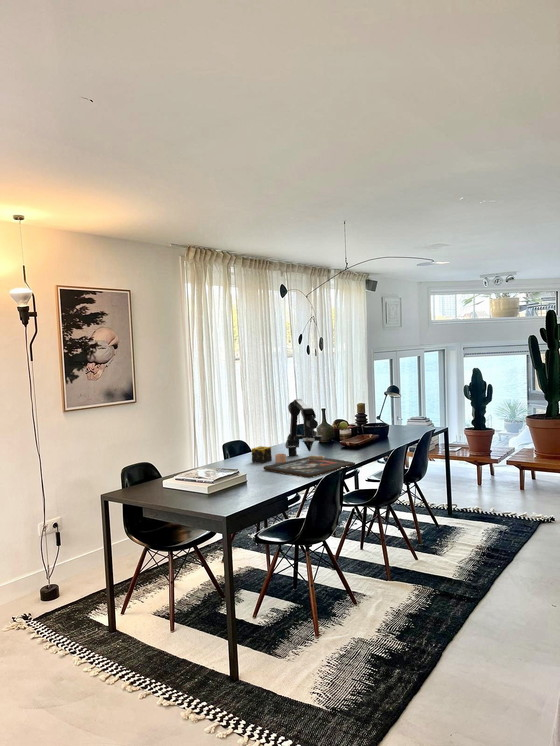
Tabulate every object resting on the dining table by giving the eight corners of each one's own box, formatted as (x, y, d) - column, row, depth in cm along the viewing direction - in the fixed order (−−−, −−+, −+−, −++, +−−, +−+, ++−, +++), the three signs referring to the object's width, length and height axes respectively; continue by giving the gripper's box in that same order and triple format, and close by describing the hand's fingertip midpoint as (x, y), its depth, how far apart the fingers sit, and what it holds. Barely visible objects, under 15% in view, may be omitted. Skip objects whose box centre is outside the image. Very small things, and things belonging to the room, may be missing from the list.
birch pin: (308, 455, 364) (322, 456, 360) (310, 455, 367) (324, 455, 363) (308, 460, 364) (322, 460, 360) (310, 459, 366) (324, 460, 362)
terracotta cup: (278, 461, 377) (278, 453, 377) (288, 461, 374) (287, 453, 374) (273, 463, 371) (273, 455, 371) (283, 463, 368) (282, 455, 367)
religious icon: (261, 471, 349) (261, 466, 349) (309, 459, 381) (309, 455, 381) (308, 479, 321) (308, 474, 320) (356, 466, 352) (356, 461, 352)
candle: (260, 460, 385) (259, 446, 385) (272, 461, 379) (271, 446, 379) (251, 463, 377) (250, 448, 376) (263, 464, 371) (262, 449, 370)
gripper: (326, 425, 361) (327, 449, 361) (300, 425, 370) (301, 448, 370) (319, 428, 351) (321, 452, 352) (293, 427, 360) (294, 451, 360)
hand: (309, 451), depth 359 cm, fingers closed
